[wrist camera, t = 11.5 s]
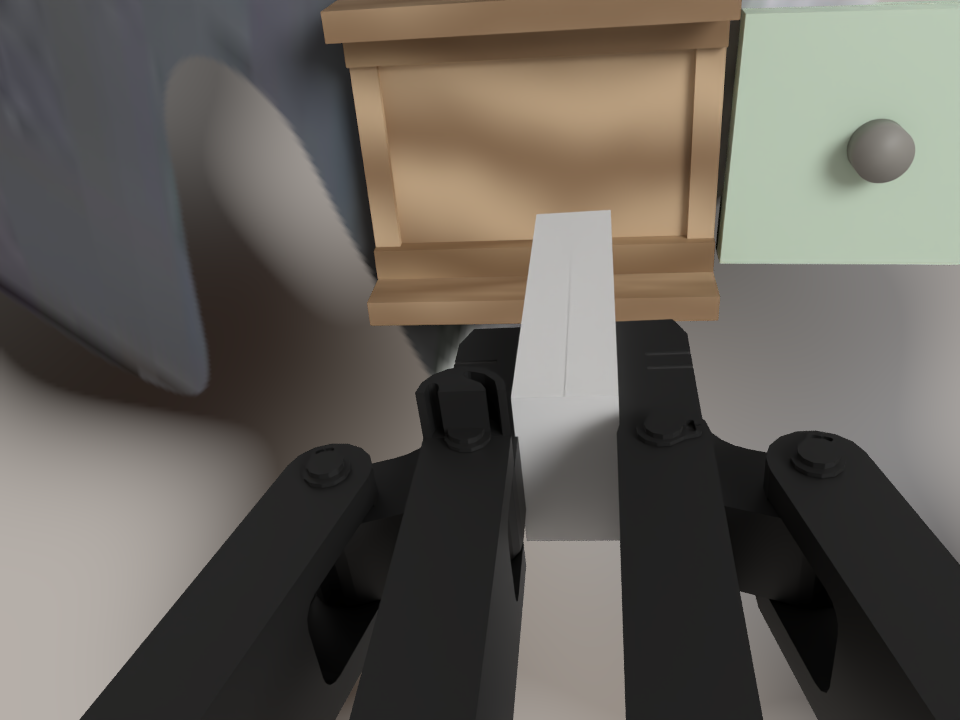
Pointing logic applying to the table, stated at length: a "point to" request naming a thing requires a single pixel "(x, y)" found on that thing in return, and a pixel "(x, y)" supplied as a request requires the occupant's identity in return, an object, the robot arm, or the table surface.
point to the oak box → (536, 146)
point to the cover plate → (844, 136)
